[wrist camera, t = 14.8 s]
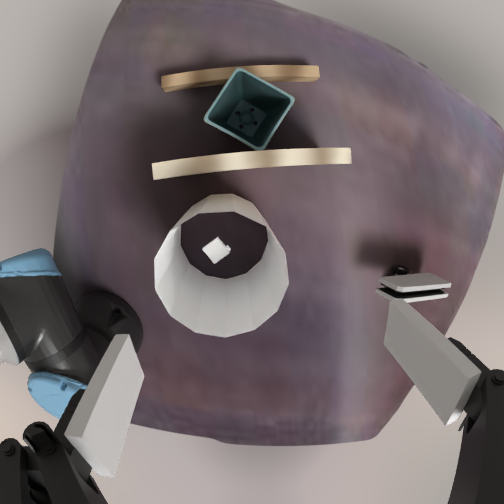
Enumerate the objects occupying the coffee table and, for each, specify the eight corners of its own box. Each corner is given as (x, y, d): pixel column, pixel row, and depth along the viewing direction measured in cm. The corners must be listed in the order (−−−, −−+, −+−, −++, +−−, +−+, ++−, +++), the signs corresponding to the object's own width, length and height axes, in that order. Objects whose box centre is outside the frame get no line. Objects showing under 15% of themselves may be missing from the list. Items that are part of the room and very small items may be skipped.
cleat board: (172, 175, 43) (153, 180, 32) (165, 81, 39) (145, 56, 27) (321, 162, 45) (351, 163, 33) (313, 71, 40) (338, 46, 28)
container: (284, 245, 48) (312, 290, 31) (216, 293, 50) (211, 356, 33) (231, 175, 44) (232, 182, 27) (162, 229, 46) (127, 267, 29)
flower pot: (206, 128, 42) (201, 120, 33) (236, 83, 40) (237, 65, 31) (255, 155, 44) (261, 153, 35) (283, 110, 42) (296, 98, 33)
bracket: (418, 263, 53) (366, 266, 49) (452, 280, 44) (402, 287, 40) (413, 281, 54) (362, 287, 50) (446, 300, 45) (396, 311, 41)
